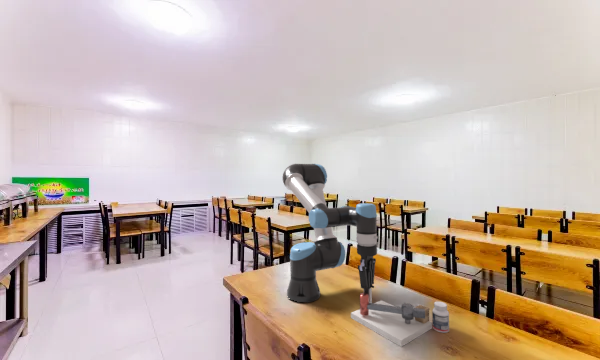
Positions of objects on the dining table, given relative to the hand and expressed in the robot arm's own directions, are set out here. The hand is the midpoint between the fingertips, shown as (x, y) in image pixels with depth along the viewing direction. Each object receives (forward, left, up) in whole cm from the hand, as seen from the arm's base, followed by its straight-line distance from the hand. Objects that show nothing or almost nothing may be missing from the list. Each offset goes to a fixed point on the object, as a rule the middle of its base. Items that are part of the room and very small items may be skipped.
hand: (367, 304), depth 105 cm
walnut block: (+16, +10, -3) cm, 19 cm away
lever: (+9, +2, -2) cm, 10 cm away
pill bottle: (+21, +14, -5) cm, 26 cm away
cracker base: (+8, +3, -5) cm, 10 cm away
